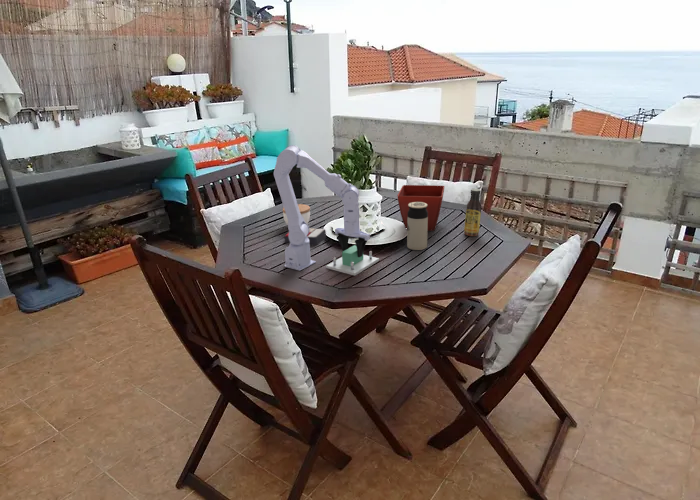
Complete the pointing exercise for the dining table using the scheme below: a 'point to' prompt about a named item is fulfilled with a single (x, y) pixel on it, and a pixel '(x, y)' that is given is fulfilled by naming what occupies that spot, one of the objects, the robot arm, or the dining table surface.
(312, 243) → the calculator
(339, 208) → the dining table surface
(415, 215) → the travel mug
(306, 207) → the lidded bowl
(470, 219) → the sauce bottle
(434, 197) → the plant pot
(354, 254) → the green block
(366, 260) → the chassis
